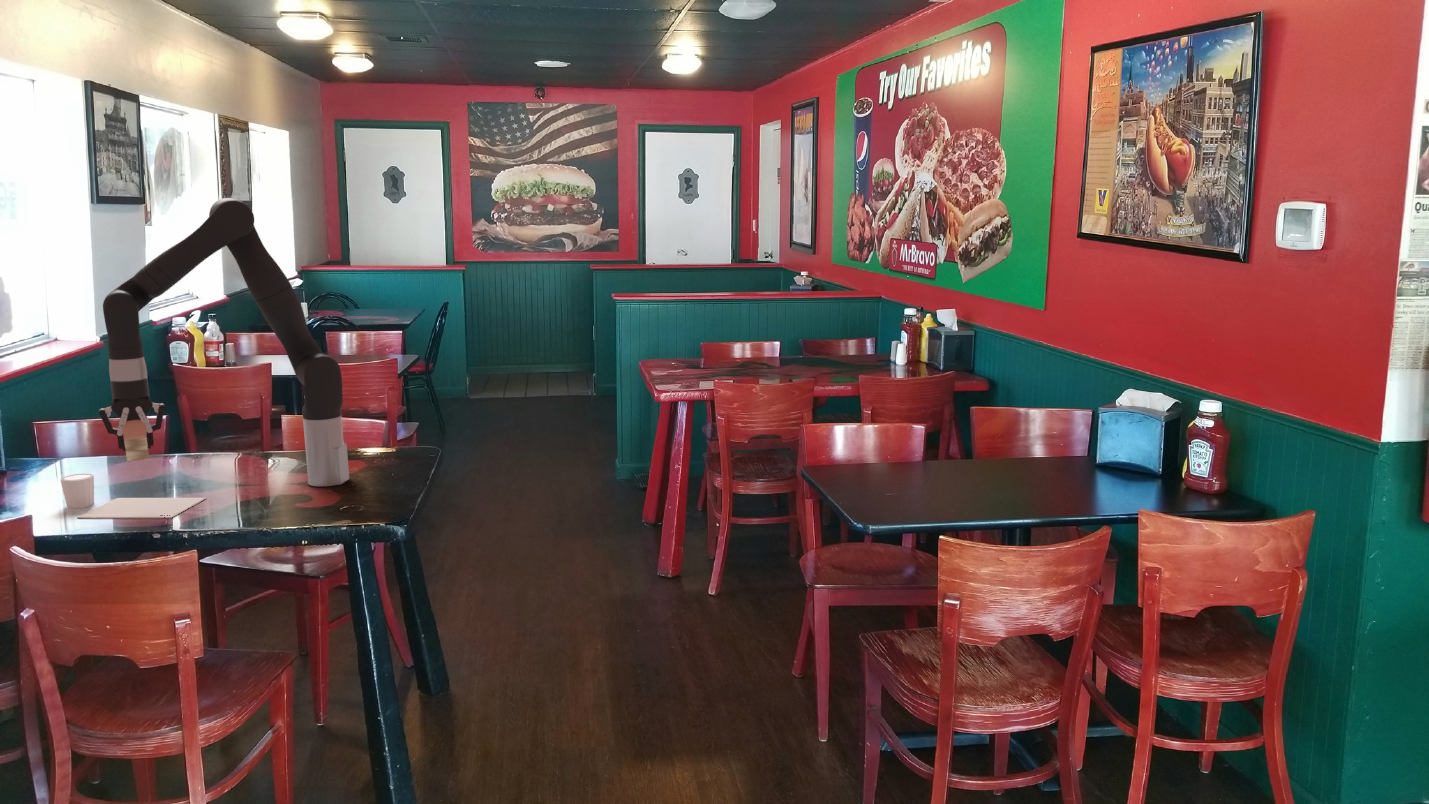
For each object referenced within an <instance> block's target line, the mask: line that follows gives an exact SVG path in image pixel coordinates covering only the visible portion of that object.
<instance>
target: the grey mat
mask: <svg viewBox="0 0 1429 804" xmlns="http://www.w3.org/2000/svg"><path fill="white" fill-rule="evenodd" d="M204 499H205V500H207V497H116V498H114V499H112V500H110V501H108V502H106V503H103V504H102V505H100V506H98V507H96V508H94V509H90V510H89V511H87V512H85V513H82V514H81V515H79V516H76V519H77V518H84V520H85V518H94V520H95V518H96V519H173V518H175V517H176V516H175V515H177V516H179V515H180V514H182V513H184V512H186V511H188V510H189V509H191V508H192V506H193V507H194V506H197V505H198V504H200V503H201V501H202V502H204V501H205V500H204ZM203 500H204V501H203ZM188 508H189V509H188ZM187 509H188V510H187ZM185 510H186V511H185ZM183 511H184V512H183ZM181 512H182V513H181ZM179 513H180V514H179ZM178 514H179V515H178ZM160 515H163V516H160ZM164 515H165V516H164ZM167 515H168V516H167ZM169 515H170V516H169ZM174 516H175V517H174ZM164 517H165V518H164ZM172 517H173V518H172Z"/></svg>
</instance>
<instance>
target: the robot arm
mask: <svg viewBox="0 0 1429 804" xmlns="http://www.w3.org/2000/svg"><path fill="white" fill-rule="evenodd" d="M209 209H210V210H209V213H208V217H207V219H205V221H204V222H203V223H202V224H201V225H200V226H199V227H198V228H197V229H196V230H194V231H193V232H192V233H190V235H188V236H186V237H185V238H184V239H182V240H181V241H179V242H178V243H176V244H174V245H173V246H171V247H169V248H168V249H166V250H165V251H163V252H162V253H160V254H159V255H157V256H156V257H154V258H153V259H152V260H151V261H149V262H148V263H147V264H146V265H144V266H143V267H142V268H141V269H139V270H138V271H137V272H136V273H135V274H134V276H131V278H129V279H128V280H126V281H125V282H123V283H122V284H120V285H119V286H118V287H116V288H114V289H113V290H112V291H110V292H109V293H108V294H107V295H106V296H105V298H104V300H103V303H102V312H103V317H104V322H105V324H104V325H105V328H106V333H107V353H108V358H109V361H108V365H109V366H108V371H109V378H110V379H109V381H110V388H111V396H112V398H111V399H112V403H111V405H110V406H107V407H104V408H103V407H101V408H99V410H98V414H99V416H100V418H101V421H102V422H103V424H104V425H103V426H104V427H105V429H106V431H107V433H108V434H109V435H114V436H116V437H117V438H116V439H117V445H118V448H119V450H121V451H122V452H126V449H125V443H124V436H123V426H122V425H124V424H126V421H132V420H141V421H142V423H144V422H145V427H146V436H147V444H148V446H147V447H148V450H150V449H152V447H154V443H155V442H154V435H153V434H154V432H155V431H158V430H161V428H162V424H163V419H164V416H165V415H164V413H165V410H166V406H165V404H164V403H163V402H161V403H159V402H158V403H156V402H153V401H152V399H151V398H150V391H149V390H150V389H149V381H148V380H149V379H148V370H147V363H146V361H145V354H144V346H143V339H142V336H141V334H140V333H141V332H140V329H141V328H140V315H139V313H140V311H141V310H142V309H143V308H145V307H146V306H148V304H149V303H151V302H152V301H153V300H154V299H156V298H159V297H160V296H162V295H163V294H165V293H166V292H167V291H168V290H170V289H171V288H173V286H175V285H176V284H178V283H179V281H181V280H183V278H184V277H186V276H187V275H188V274H189V273H191V272H192V271H193V270H194V269H195V268H196V267H197V266H199V265H200V264H201V263H203V262H204V261H206V259H208V258H209V257H211V256H212V255H214V254H216V253H217V252H218V251H220V250H221V249H223V248H225V247H227V249H228V250H229V251H230V253H231V255H232V256H233V258H234V259H235V262H236V264H237V266H238V268H239V270H240V274H241V275H242V277H243V280H244V283H245V284H246V286H247V288H248V291H249V293H250V294H251V296H252V299H253V300H254V302H255V303H256V305H257V308H258V310H259V311H260V312H261V314H262V316H263V317H264V319H265V321H266V322H267V324H268V325H269V326H270V328H271V330H272V331H273V334H275V336H276V337H277V339H278V340H279V342H280V343H281V345H282V347H283V349H284V351H285V353H286V355H287V358H288V360H289V362H290V365H291V367H292V369H293V371H294V374H295V376H296V378H297V380H298V381H299V383H300V384H301V385H303V386H304V399H305V400H304V405H303V407H302V409H301V410H302V424H303V432H304V433H303V435H304V448H305V460H306V471H307V482H308V485H310V486H311V487H331V486H340V485H341V486H342V484H345V482H347V481H348V480H349V479H350V469H349V460H348V459H349V458H348V457H349V455H348V448H347V447H348V445H347V443H346V442H344V433H343V432H344V431H343V419H342V408H343V407H342V406H343V402H344V395H343V393H344V391H343V375H342V369H341V367H340V364H339V363H338V361H337V360H335V358H333V357H331V356H329V355H326V354H325V353H324V352H323V351H322V350H321V349H320V347H319V345H318V343H317V342H316V341H315V339H314V337H313V335H312V334H311V333H310V330H309V328H308V324H307V321H306V317H305V313H304V310H303V309H304V308H303V306H302V303H301V301H300V299H299V297H298V295H297V293H296V291H295V290H294V288H293V286H292V284H291V282H290V280H289V279H288V277H287V276H286V274H285V273H284V271H283V269H282V268H281V267H280V266H279V264H278V263H277V261H275V259H274V258H273V257H272V255H271V254H270V252H269V251H268V250H267V249H266V247H265V245H264V244H263V242H262V240H261V238H260V236H259V234H258V232H257V229H256V227H255V215H254V212H253V209H252V208H251V207H250V206H249V205H248V204H247V203H245V202H243V201H242V200H240V199H236V198H234V197H233V198H231V197H223V198H220V199H218V200H216V201H215V202H214V203H213V204H212V206H211V207H210V208H209ZM152 408H153V409H154V410H153V411H154V412H155V413H156V417H155V421H154V422H155V423H154V424H151V422H150V420H149V418H148V416H147V415H148V413H149V412H150V411H151V409H152ZM112 412H113V413H114V414H116V415H117V416H118V417H119V423H118V427H117V428H116V427H114V426H113V424H112V422H111V419H110V416H111V414H112Z"/></svg>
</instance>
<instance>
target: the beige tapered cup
mask: <svg viewBox="0 0 1429 804" xmlns="http://www.w3.org/2000/svg"><path fill="white" fill-rule="evenodd" d="M59 480H60V485H61V488H62V492H63V495H64V496H63V497H64V500H65V504H66V507H67V508H68V509H82V508H87V507H91V506H93V505H94V504H95V475H94V474H91V473H78V474H70V475H67V476H63V477H61V478H60V479H59Z"/></svg>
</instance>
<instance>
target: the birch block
mask: <svg viewBox="0 0 1429 804" xmlns="http://www.w3.org/2000/svg"><path fill="white" fill-rule="evenodd" d="M122 426H123V436H124V443H125V449H126V451H125V455H126V461H127V462H133V461H142V460H143V461H144V460H150V453H149V449H148V447H147V446H148V444H147V436H146V432H147V430H146V427H145V422H144V423H142V421H141V420H132V421H126V424H124V425H122Z"/></svg>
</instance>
